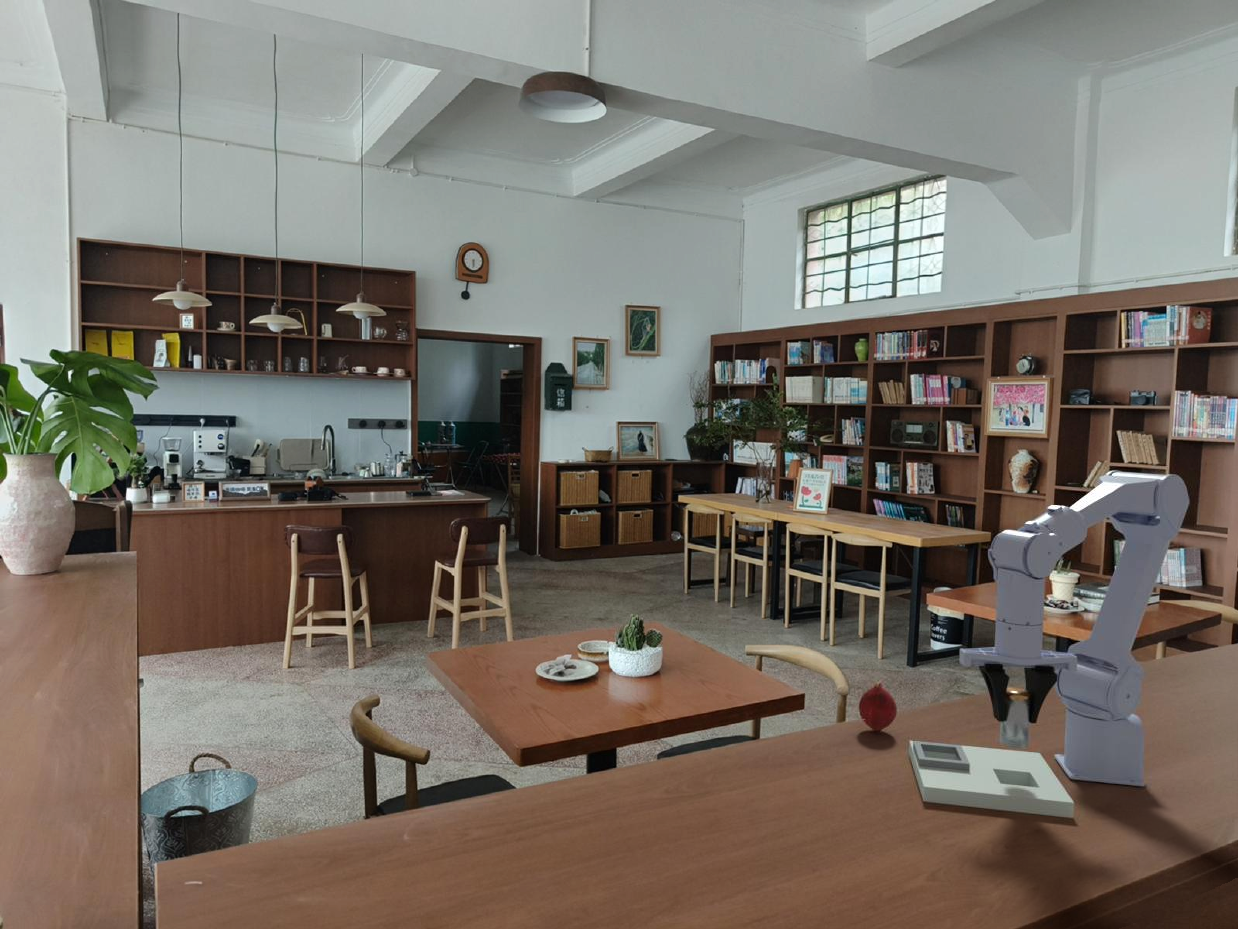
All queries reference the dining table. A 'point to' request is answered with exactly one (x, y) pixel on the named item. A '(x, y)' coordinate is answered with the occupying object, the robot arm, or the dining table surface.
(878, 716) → the onion
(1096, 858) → the dining table surface
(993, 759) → the board
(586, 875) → the dining table surface
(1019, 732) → the silver and gold cylinder
